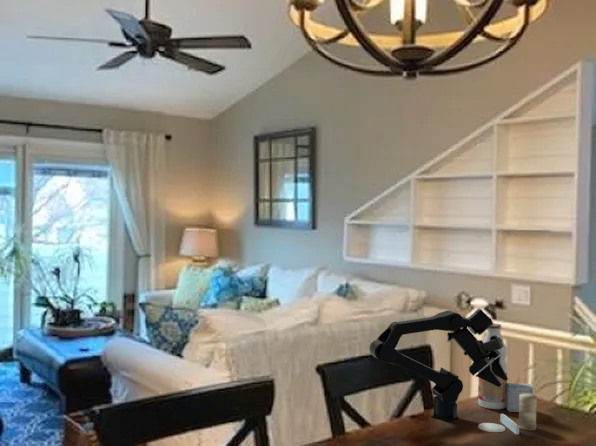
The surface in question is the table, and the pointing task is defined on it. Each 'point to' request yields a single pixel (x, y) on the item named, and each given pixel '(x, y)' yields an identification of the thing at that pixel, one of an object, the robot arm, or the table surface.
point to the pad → (491, 427)
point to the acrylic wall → (509, 424)
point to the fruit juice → (487, 391)
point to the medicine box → (516, 395)
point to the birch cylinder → (527, 411)
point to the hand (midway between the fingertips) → (503, 383)
